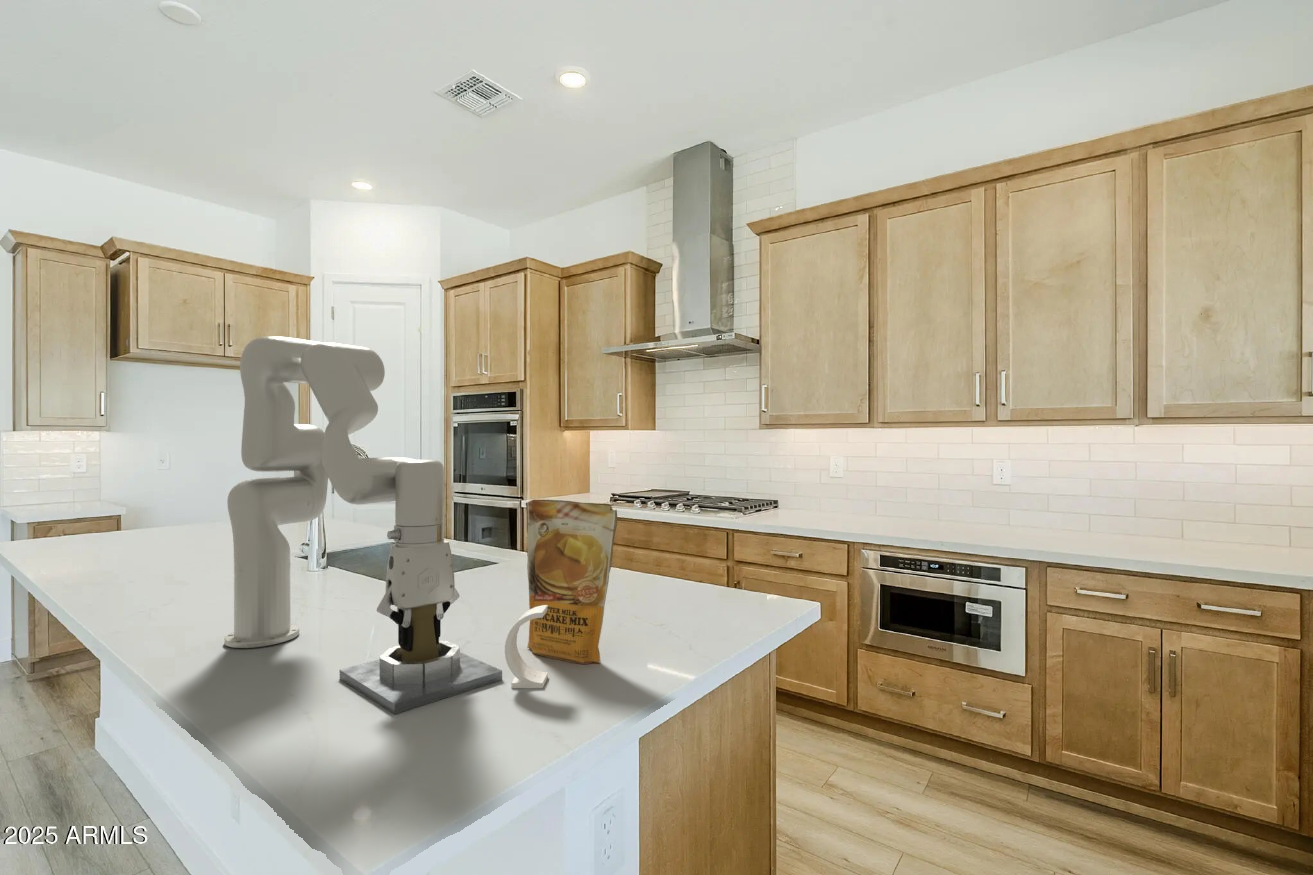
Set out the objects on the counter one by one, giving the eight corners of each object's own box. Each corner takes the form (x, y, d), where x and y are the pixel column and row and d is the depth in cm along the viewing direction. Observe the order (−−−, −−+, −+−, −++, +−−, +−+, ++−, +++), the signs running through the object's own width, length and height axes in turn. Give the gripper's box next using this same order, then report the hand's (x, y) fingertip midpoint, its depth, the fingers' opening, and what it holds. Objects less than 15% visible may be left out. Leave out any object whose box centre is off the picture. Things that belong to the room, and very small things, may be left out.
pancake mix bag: (537, 641, 126) (536, 497, 125) (620, 657, 116) (620, 502, 116) (513, 651, 120) (513, 500, 120) (599, 669, 110) (599, 505, 110)
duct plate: (339, 678, 106) (339, 651, 106) (440, 651, 119) (440, 627, 119) (394, 714, 92) (394, 683, 92) (502, 679, 106) (502, 652, 106)
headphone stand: (542, 688, 102) (542, 612, 102) (504, 688, 102) (504, 612, 102) (548, 677, 107) (547, 604, 107) (511, 677, 107) (511, 604, 107)
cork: (417, 656, 110) (417, 592, 110) (447, 660, 108) (447, 595, 108) (392, 668, 104) (392, 600, 104) (423, 673, 102) (423, 604, 102)
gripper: (379, 543, 97) (379, 664, 97) (477, 531, 109) (477, 639, 109) (358, 538, 102) (358, 653, 102) (454, 527, 115) (454, 630, 115)
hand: (419, 644), depth 106 cm, fingers closed on cork, 3 cm apart
